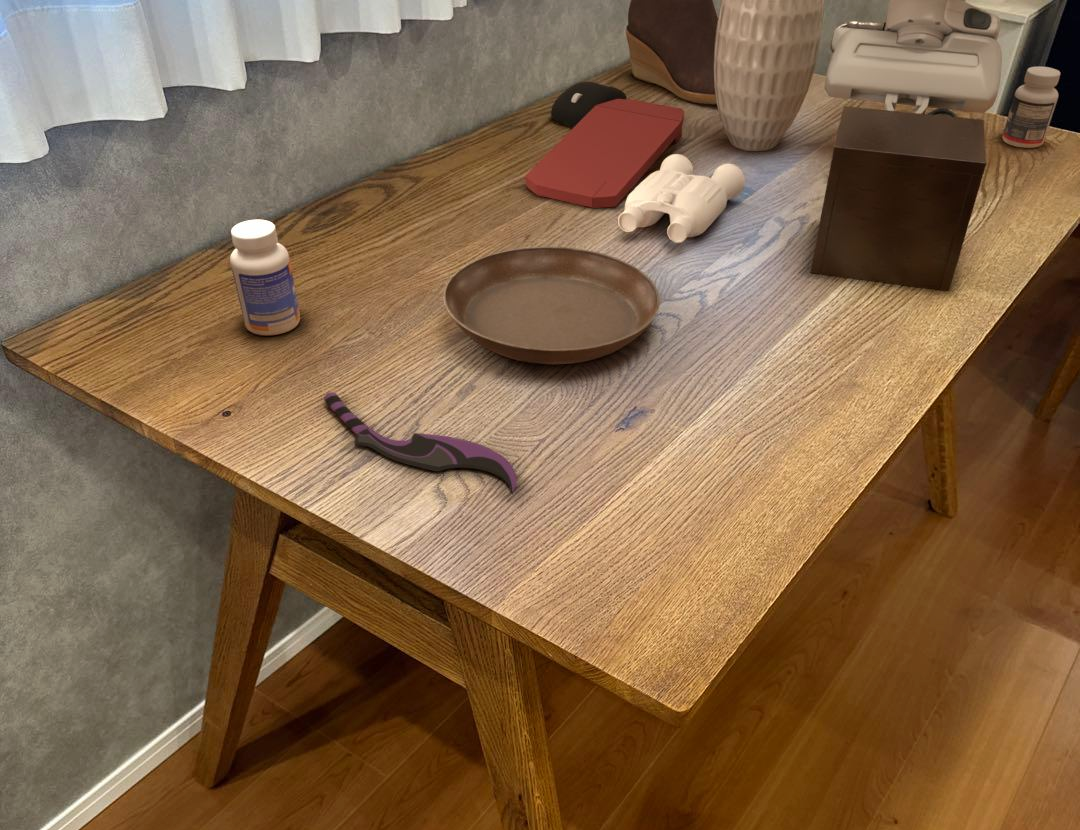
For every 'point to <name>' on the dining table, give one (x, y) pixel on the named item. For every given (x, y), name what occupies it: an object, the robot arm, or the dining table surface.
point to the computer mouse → (582, 101)
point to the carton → (606, 153)
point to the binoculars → (681, 198)
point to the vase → (764, 66)
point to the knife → (426, 447)
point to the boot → (674, 46)
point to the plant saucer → (551, 303)
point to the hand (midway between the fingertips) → (899, 135)
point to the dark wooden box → (899, 197)
